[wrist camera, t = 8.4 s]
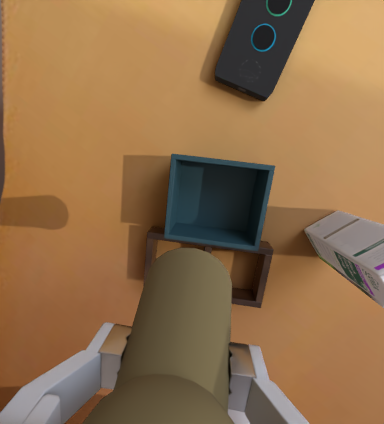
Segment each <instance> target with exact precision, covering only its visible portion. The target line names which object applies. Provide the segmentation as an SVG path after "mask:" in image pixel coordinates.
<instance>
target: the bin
mask: <svg viewBox="0 0 384 424" xmlns="http://www.w3.org/2000/svg"><path fill="white" fill-rule="evenodd" d="M274 170H275V166H272V165H264V164H255V163H247V162H238V161H230V160H221V159H213V158H204V157H196V156H187V155H179V154H172V155H171V166H170V177H169V188H168V199H167V210H166V221H165V232H164V238H166V239H173V240H181V241H188V242H195V243H202V244H209V245H216V246H224V247H231V248H238V249H245V250H252V251H258V249H259V244H260V239H261V234H262V229H263V224H264V219H265V214H266V209H267V204H268V200H269V195H270V190H271V185H272V180H273V175H274Z"/></svg>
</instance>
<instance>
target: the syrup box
mask: <svg viewBox="0 0 384 424" xmlns="http://www.w3.org/2000/svg"><path fill="white" fill-rule="evenodd" d="M304 231H305V233H306V235H307V237H308V238H309V240H310V242H311V244H312V245H313V247H314V249H315V251H316V252H317V254H318V256H319V257H320V259H322V260H323V261H324V262H326V263H327V264H328V265H329V266H331V267H332V268H333V269H334V270H336V271H337V272H338V273H340V274H341V275H342V276H343V277H345V278H346V279H347V280H349V281H350V282H351V283H352V284H354V285H355V286H356V287H357V288H359V289H360V290H361V291H363V292H364V293H365V294H366V295H368V296H369V297H370V298H372V299H373V300H374V301H375V302H377V303H378V304H379V305H381V306H382V307H383V308H384V225H383V224H380V223H377V222H374V221H370V220H367V219H364V218H361V217H357V216H354V215H351V214H348V213H345V212H342V211H336V212H334V213H332V214H330V215H328V216H326V217H324V218H323V219H321V220H319V221H317V222H315V223H314V224H312V225H310V226H308V227H307V228H305V229H304Z"/></svg>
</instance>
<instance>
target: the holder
mask: <svg viewBox="0 0 384 424" xmlns="http://www.w3.org/2000/svg"><path fill="white" fill-rule="evenodd" d="M164 232H165V228H160V227H152V228H151V229H150V230H149V231H148V232H147V245H146V259H145V273H144V284H145V281H146V278H147V274H148V271H149V268H150V267H151V266H152V264H153V263H154V262H155V260H156V252H157V240H164V241H171V242H179V243H186V244H193V245H200V246H205V247H204V251H205V252H208V253H210V254H211V251H212V247H214V248H222V249H229V250H236V251H243V252H250V253H257V254H259V257H258V262H257V267H256V272H255V277H254V282H253V287H252V290H245V289H238V288H232V300H231V304H238V305H244V306H251V307H257V308H261V304H262V300H263V295H264V291H265V286H266V282H267V277H268V273H269V268H270V263H271V259H272V254H273V248H272V247H271V246H270V244H269V243H268V242H263V241H260V244H259V249H258V251H252V250H245V249H238V248H231V247H224V246H216V245H209V244H202V243H195V242H188V241H181V240H173V239H166V238H164ZM143 288H144V287H143Z"/></svg>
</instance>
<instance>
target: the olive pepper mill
mask: <svg viewBox="0 0 384 424" xmlns="http://www.w3.org/2000/svg"><path fill="white" fill-rule="evenodd" d="M231 300H232V282H231V279H230V276H229V273H228V271H227V269H226V268H225V267H224V265H223V264H222V263H221V261H220V260H218V259H217V258H216V257H214V256H213V255H211V254H210V253H208V252H205V251H202V250H199V249H196V248H178V249H174V250H171V251H167V252H166V253H164V254H163V255H161V256H160V257H158V258H157V259H156V260H155V262H154V263H153V264H152V266H151V267H150V268H149V271H148V274H147V278H146V281H145V284H144V288H143V291H142V295H141V298H140V301H139V305H138V308H137V312H136V315H135V318H134V322H133V325H132V330H131V334H130V336H129V339H128V343H127V346H126V349H125V353H124V356H123V360H122V363H121V366H120V370H119V373H118V376H117V380H116V383H115V387H114V390H113V392H111V393H110V394H108V395H107V396H105V397H104V398H102V400H101V401H100V402H99V403H98V404H97V405H96V407H95V408H94V409H93V410H92V411H91V413H90V414H89V415H88V417H87V418H86V419H85V421H84V422H83V423H82V424H235V423H234V422H233V420H232V419H231V418H230V416H229V415H228V395H229V358H230V355H229V350H228V343H229V342H230V332H231Z"/></svg>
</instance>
